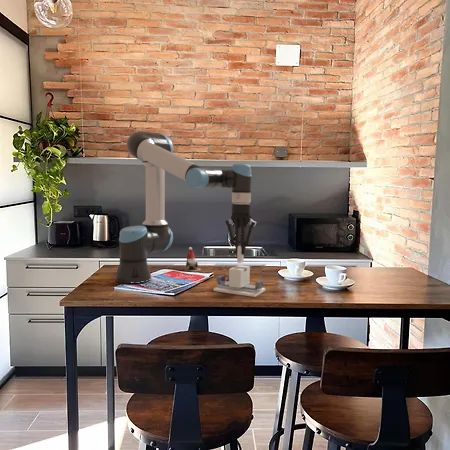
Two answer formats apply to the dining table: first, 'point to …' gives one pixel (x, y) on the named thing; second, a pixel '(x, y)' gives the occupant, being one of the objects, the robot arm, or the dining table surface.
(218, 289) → the mount plate
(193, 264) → the figurine
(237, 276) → the block
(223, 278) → the rail
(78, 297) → the dining table surface
